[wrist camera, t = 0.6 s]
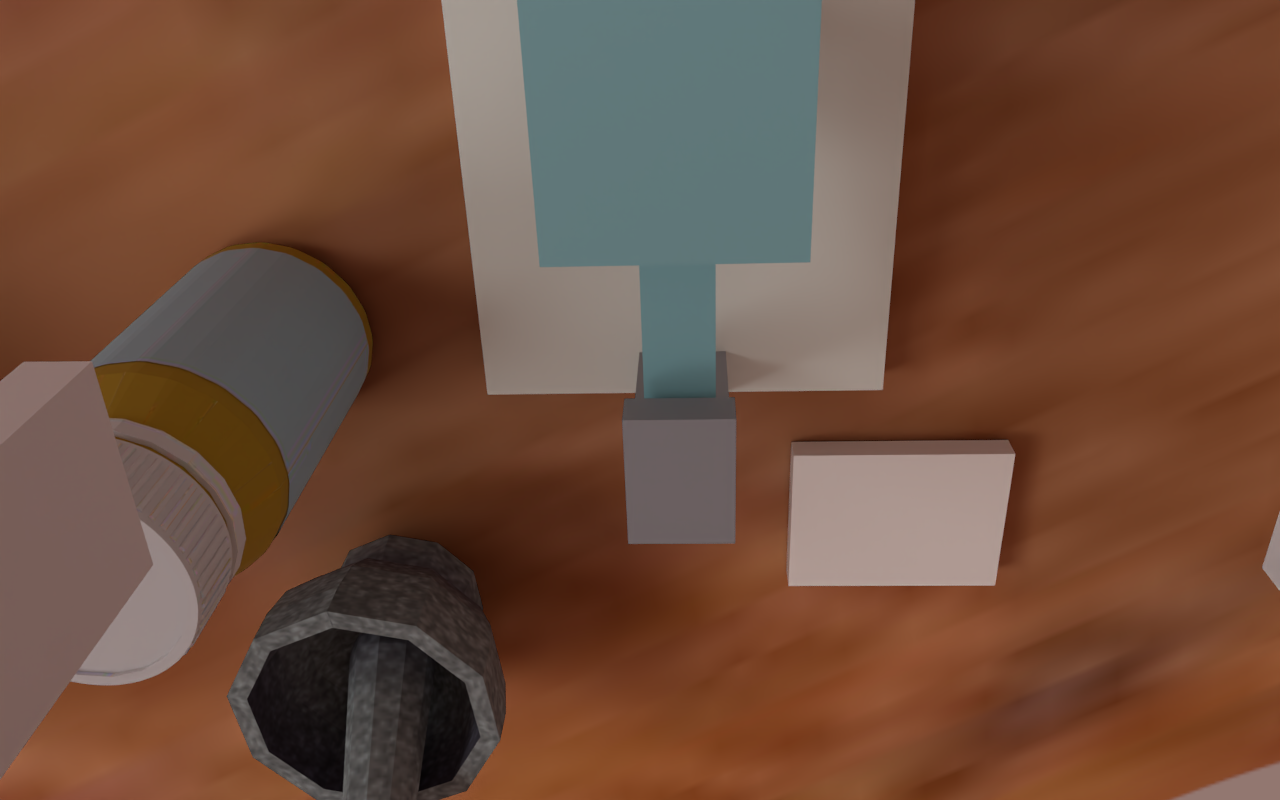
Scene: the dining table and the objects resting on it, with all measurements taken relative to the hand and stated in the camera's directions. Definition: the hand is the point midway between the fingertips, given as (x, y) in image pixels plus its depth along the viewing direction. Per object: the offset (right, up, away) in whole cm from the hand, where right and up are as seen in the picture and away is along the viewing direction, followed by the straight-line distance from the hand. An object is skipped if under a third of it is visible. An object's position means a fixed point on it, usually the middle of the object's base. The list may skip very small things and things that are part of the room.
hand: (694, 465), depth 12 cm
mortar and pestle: (-10, -8, +33) cm, 36 cm away
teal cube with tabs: (0, +9, +15) cm, 17 cm away
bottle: (-14, +3, +27) cm, 30 cm away
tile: (+9, -3, +30) cm, 31 cm away
